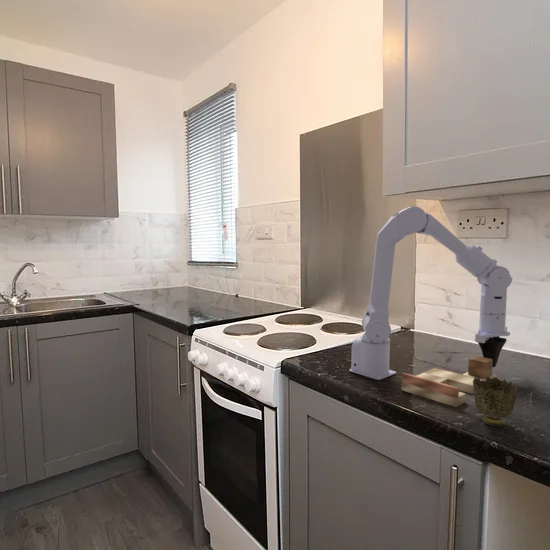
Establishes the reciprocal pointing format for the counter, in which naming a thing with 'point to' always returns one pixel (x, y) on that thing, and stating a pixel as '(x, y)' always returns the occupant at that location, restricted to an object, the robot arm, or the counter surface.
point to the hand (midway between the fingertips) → (490, 365)
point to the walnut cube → (480, 367)
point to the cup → (494, 399)
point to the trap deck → (440, 385)
